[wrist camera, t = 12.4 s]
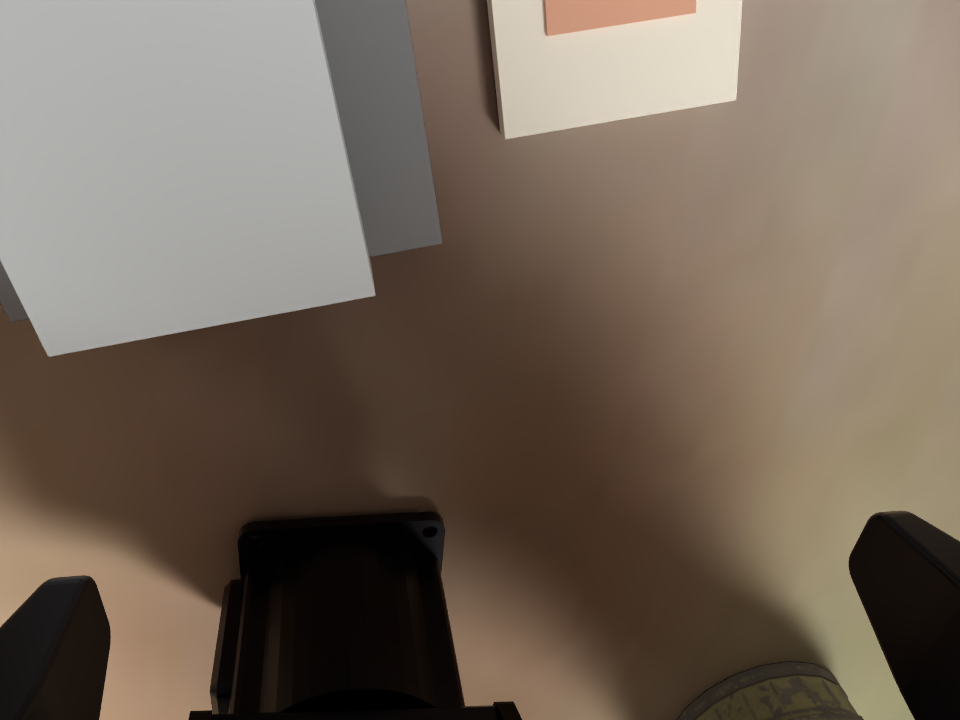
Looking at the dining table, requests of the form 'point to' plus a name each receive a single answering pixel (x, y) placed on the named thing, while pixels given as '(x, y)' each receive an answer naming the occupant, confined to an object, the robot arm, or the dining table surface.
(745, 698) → the thermos
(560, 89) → the card
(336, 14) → the keypad board
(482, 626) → the dining table surface
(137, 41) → the grey-blue key
